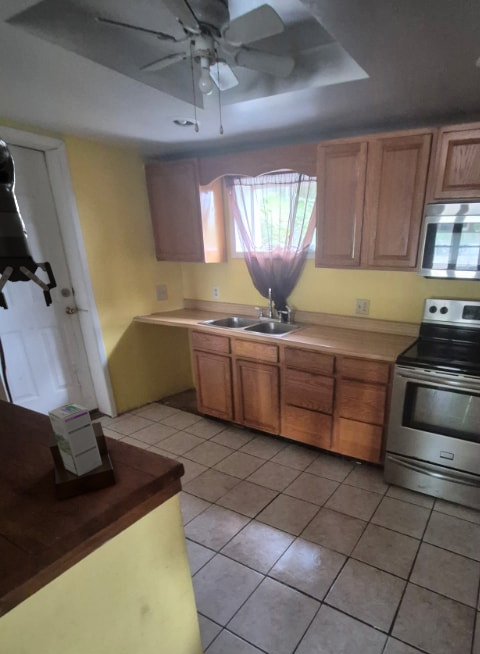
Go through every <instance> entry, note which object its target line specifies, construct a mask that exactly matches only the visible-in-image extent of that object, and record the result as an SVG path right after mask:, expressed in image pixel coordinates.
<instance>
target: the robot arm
mask: <svg viewBox="0 0 480 654" xmlns="http://www.w3.org/2000/svg"><path fill="white" fill-rule="evenodd" d="M15 171H16V169H15V161H14V157H13V153H12V150H11V149H10V148H9V145H8V144H7V143H6V141H5V140H4V139H3V138H2V137H0V275H1V276H0V308H3V310H9V305H8V302H7V299H6V296H5V292H3V289H4V287H5V286H6V284H7V282H11V283H18V282H23V283H24V282H25V283H26V282H27V283H28V282H30V281H32V282H33V283H35V284H36V285H37V286H39V287H40V288H41V289H42V294H43V297H44V301H45V305H46V307H47V308H48V307H51V305H52V304H53V298H52V294H51V290H52V289H55V288H57V286H58V285H57V281H56V278H55V275H54V270H53V268H52V265H51V262H49V261H43V262H36V260H35V258H34V254H33V251H32V247H31V243H30V239H29V236H28V231H27V227H26V224H25V222H24V220H23V216H22V213H21V210H20V206H19V202H18V199H17V194H16V172H15ZM38 269H41V270H42V272H45V273H46V275H47V277H48V281H49V283H46V282H44V281H43V280H42V279H41V278H40V277H39V276H37V274H36V272H37V271H38Z"/></svg>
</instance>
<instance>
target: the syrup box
mask: <svg viewBox="0 0 480 654" xmlns="http://www.w3.org/2000/svg"><path fill="white" fill-rule="evenodd" d="M47 414H48V417H49V420H50V424H51V427H52V432H54V434H55V437H56V440H57V444H58V447H59V451H60V454H61V457H62V460H63V464H64V467H65V469H67V470H68V471H70V472H72V473H74V474H76V475H78V476H81V475H83V474H85V473H87V472H89V471H91V470H93V469H95V468H97V467H99V466H101V465H102V462H101V458H100V454H99V450H98V446H97V442H96V438H95V434H94V431H93V427H92V419H91V415H90V412H89V409H88V408H87V407H84V406H82V405H79V404H77V403H68V404H64V405H62V406H60V407H57V408H54V409H52V410H50V411H48V413H47Z"/></svg>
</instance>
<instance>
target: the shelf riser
mask: <svg viewBox="0 0 480 654" xmlns="http://www.w3.org/2000/svg"><path fill="white" fill-rule="evenodd" d="M91 423H92V422H91ZM92 427H93V431H94V434H95V438H96V442H97V446H98V450H99V454H100V458H101V462H102V465H101V466H99V467H97V468H95V469H93V470H91V471H89V472H87V473H85V474H83V475H81V476H78V475H76V474H74V473H72V472H70V471H68V470H67V469H65V467H64V464H63V460H62V457H61V454H60V451H59V447H58V444H57V440H56V437H55V434H54V431H49V451H50V453H51V456H52V461H53V464H54V473H55V487H56V490H57V493H58V496H59V499H60V500H64V499H67V498H70V497H73V496H77V495H82V494H84V493H87V492H91V491H94V490H98V489H102V488H105V487H109V486H112V485H115V484H117V482H116V477H115V473H114V472H115V471H114V469H113V465H112V461H111V458H110V454H109V450H108V446H107V441H106V438H105V433H104V429H103V426H102V422H101V421H97V422H93V423H92Z"/></svg>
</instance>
